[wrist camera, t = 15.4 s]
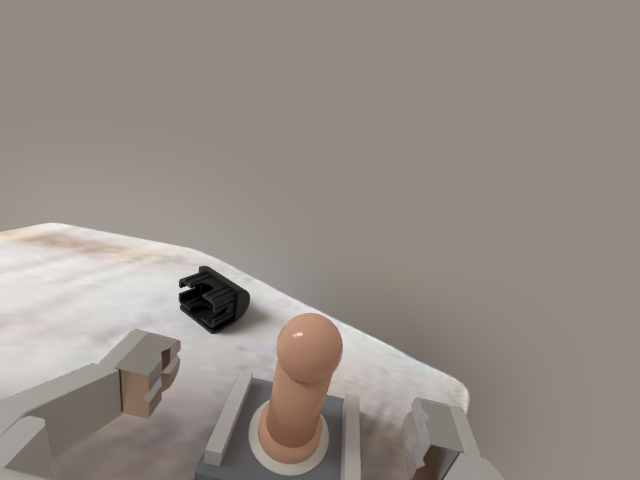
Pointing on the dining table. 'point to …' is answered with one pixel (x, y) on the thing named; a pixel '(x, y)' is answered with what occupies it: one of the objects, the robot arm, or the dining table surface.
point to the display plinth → (250, 459)
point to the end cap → (212, 299)
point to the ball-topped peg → (299, 388)
